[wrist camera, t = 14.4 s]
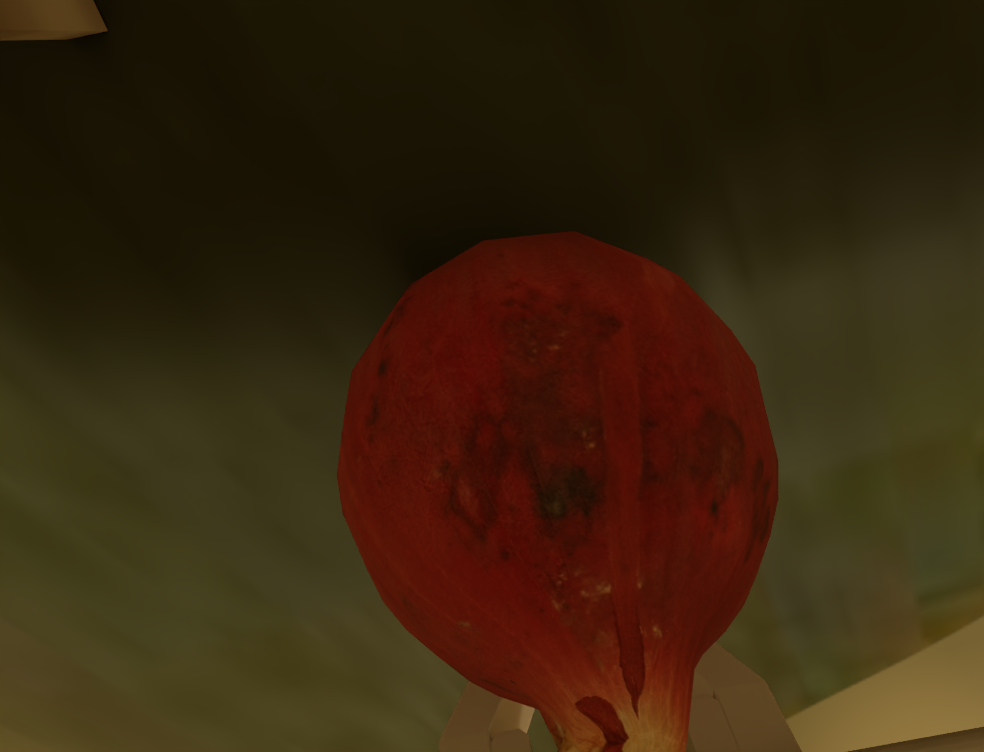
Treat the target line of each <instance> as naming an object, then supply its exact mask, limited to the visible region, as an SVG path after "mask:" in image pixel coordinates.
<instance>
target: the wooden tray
mask: <svg viewBox="0 0 984 752" xmlns="http://www.w3.org/2000/svg"><path fill="white" fill-rule="evenodd" d="M105 31H108V30H107V28H106V26H105V24H104V22H103V20H102V17H101V15H100V13H99V11H98V9H97V7H96V5H95V3H94V1H93V0H0V41H4V40H65V39H72V38H77V37H81V36H86V35H91V34H96V33H101V32H105Z"/></svg>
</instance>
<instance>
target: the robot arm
mask: <svg viewBox="0 0 984 752" xmlns="http://www.w3.org/2000/svg"><path fill="white" fill-rule="evenodd" d="M534 709H535V708H532V707H529V706H526V705H523V704H520V703H517V702H514V701H511V700H508V699H505V698H502V697H499V696H497V695H495V694H493V693H491V692H489V691H487V690H485V689H483V688H481V687H479V686H477V685H475V684H473V683H471V682H470V681H468V683H467V685H466V687H465V689H464V691H463V693H462V695H461V697H460V699H459V701H458V703H457V705H456V707H455V709H454V711H453V713H452V715H451V717H450V719H449V721H448V723H447V725H446V728H445V730H444V732H443V734H442V736H441V738H440V740H439V752H533V751H532V747H531V744H530V740H529V736H528V734H527V730H528V727H529V724H530V721H531V718H532V715H533V712H534ZM686 752H802V751H801V749H800V747H799V745H798V744H797V742H796V740H795V738H794V736H793V734H792V732H791V730H790V728H789V726H788V724H787V723H786V720H785V718H784V716H783V714H782V712H781V710H780V709H779V707H778V705H777V703H776V701H775V699H774V697H773V695H772V693H771V691H770V689H769V687H768V685H767V683H766V681H764V680H763V679H762V678H761V677H759V676H758V675H757V674H755V673H754V672H753V671H752V670H750V669H749V668H748V667H747V666H745V665H744V664H743V663H741V662H740V661H739V660H738V659H736V658H735V657H734V656H733V655H731V654H730V653H729V652H727V651H726V650H725V649H724V648H722V647H721V646H720V645H719V644H717V643H716V642H715V643H714V644H713V645H712V646H711V647H710V648H709V649H708V650H707V651H706V652H705V653H704V654H703V655H702V657H701V659H700V661H699V662H698V664H697V666H696V668H695V671H694V680H693V690H692V699H691V709H690V718H689V728H688V736H687V744H686ZM848 752H984V727H980V728H974V729H969V730H963V731H958V732H953V733H947V734H942V735H936V736H931V737H925V738H919V739H914V740H909V741H903V742H898V743H892V744H887V745H881V746H876V747H870V748H865V749H859V750H854V751H848Z"/></svg>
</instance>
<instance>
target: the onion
mask: <svg viewBox="0 0 984 752" xmlns="http://www.w3.org/2000/svg"><path fill="white" fill-rule="evenodd" d="M337 480H338V486H339V492H340V499H341V505H342V512H343V515H344V517H345V519H346V522H347V524H348V526H349V529H350V531H351V533H352V535H353V538H354V540H355V542H356V545H357V547H358V549H359V552H360V554H361V556H362V558H363V561H364V563H365V565H366V568H367V570H368V572H369V574H370V576H371V578H372V580H373V582H374V584H375V586H376V588H377V590H378V592H379V594H380V596H381V598H382V600H383V602H384V603H385V604H386V605H387V607H388V608H389V609H390V610H391V612H392V613H393V614H394V615H395V616H396V618H397V619H398V620H399V621H400V623H401V624H402V625H403V626H404V628H405V629H406V630H407V631H409V632H410V633H411V634H412V635H413V636H415V637H416V638H417V639H418V640H419V641H420V642H422V643H423V644H424V645H425V646H426V647H427V648H429V649H430V650H431V651H432V652H433V653H434V654H436V655H437V656H438V657H439V658H441V659H442V660H443V661H445V662H446V663H447V664H448V665H450V666H451V667H452V668H453V669H455V670H456V671H457V672H459V673H460V674H461V675H462V676H464V677H465V678H466V679H467V680H469V681H470V682H471V683H473V684H475V685H477V686H479V687H481V688H483V689H485V690H487V691H489V692H491V693H493V694H495V695H497V696H499V697H502V698H505V699H508V700H511V701H514V702H517V703H520V704H523V705H526V706H529V707H532V708H535V709H538V710H539V711H540V713H541V715H542V717H543V719H544V721H545V723H546V725H547V727H548V729H549V731H550V733H551V735H552V737H553V739H554V741H555V743H556V745H557V747H558V749H559V750H558V752H686V744H687V736H688V728H689V718H690V709H691V699H692V690H693V680H694V671H695V668H696V666H697V664H698V662H699V661H700V659H701V657H702V655H703V654H704V653H705V652H706V651H707V650H708V649H709V648H710V647H711V646H712V645H713V644H714V643H715V642H716V641H717V640H718V639H719V637H720V636H721V635H722V634H723V633H724V632H725V631H726V630H727V628H728V627H729V626H730V624H731V623H732V621H733V620H734V618H735V617H736V616H737V614H738V613H739V611H740V610H741V608H742V607H743V606H744V604H745V601H746V599H747V597H748V594H749V592H750V590H751V587H752V585H753V583H754V580H755V578H756V575H757V573H758V570H759V567H760V564H761V561H762V558H763V555H764V552H765V549H766V546H767V543H768V540H769V537H770V534H771V529H772V525H773V520H774V515H775V511H776V506H777V502H778V458H777V454H776V450H775V446H774V442H773V438H772V434H771V430H770V426H769V422H768V418H767V414H766V410H765V406H764V402H763V398H762V393H761V389H760V385H759V380H758V376H757V372H756V367H755V365H754V363H753V362H752V360H751V359H750V357H749V356H748V354H747V353H746V351H745V350H744V348H743V347H742V345H741V344H740V343H739V341H738V340H737V338H736V337H735V335H734V334H733V332H732V331H731V330H730V329H729V327H728V326H727V325H726V324H725V323H724V322H723V321H722V320H721V319H720V318H719V317H718V316H717V315H716V314H715V313H714V312H713V311H712V309H711V308H710V307H709V306H708V305H707V304H706V303H705V302H704V301H703V300H702V299H701V298H700V297H699V296H698V295H697V294H696V293H695V292H694V290H693V289H692V288H691V287H690V286H689V285H688V284H687V283H686V282H685V281H684V280H683V279H682V278H681V277H680V276H678V275H677V274H675V273H673V272H671V271H669V270H668V269H666V268H664V267H662V266H660V265H659V264H657V263H655V262H653V261H651V260H650V259H647V258H644V257H642V256H639V255H636V254H634V253H631V252H629V251H626V250H623V249H621V248H618V247H615V246H613V245H610V244H608V243H605V242H602V241H600V240H597V239H594V238H592V237H589V236H587V235H584V234H581V233H579V232H576V231H567V232H558V233H548V234H539V235H529V236H520V237H510V238H501V239H491V240H483V241H482V242H480V243H478V244H477V245H475V246H473V247H472V248H470V249H468V250H467V251H465V252H463V253H462V254H460V255H458V256H457V257H455V258H453V259H452V260H450V261H448V262H447V263H445V264H443V265H441V266H440V267H438V268H436V269H435V270H433V271H431V272H430V273H428V274H426V275H425V276H423V277H421V278H420V279H418V280H416V281H415V282H413V283H411V284H410V285H409V286H408V288H407V289H406V291H405V292H404V294H403V295H402V297H401V298H400V300H399V301H398V302H397V304H396V305H395V307H394V308H393V310H392V311H391V313H390V314H389V316H388V317H387V319H386V320H385V322H384V323H383V325H382V326H381V328H380V330H379V331H378V333H377V334H376V336H375V337H374V339H373V340H372V342H371V343H370V345H369V346H368V348H367V349H366V351H365V352H364V354H363V355H362V357H361V358H360V360H359V361H358V363H357V364H356V366H355V367H354V369H353V370H352V373H351V379H350V385H349V390H348V396H347V402H346V408H345V416H344V423H343V431H342V439H341V447H340V455H339V463H338V470H337Z"/></svg>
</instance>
